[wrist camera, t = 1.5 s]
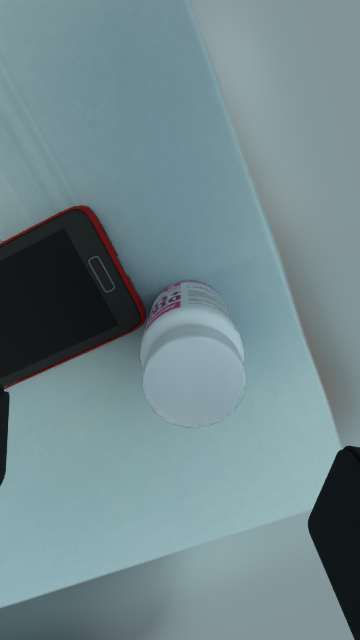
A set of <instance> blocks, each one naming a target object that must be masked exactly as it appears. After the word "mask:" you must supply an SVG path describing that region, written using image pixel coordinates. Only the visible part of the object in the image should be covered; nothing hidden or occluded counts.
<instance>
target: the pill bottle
mask: <svg viewBox="0 0 360 640" xmlns="http://www.w3.org/2000/svg"><path fill="white" fill-rule="evenodd" d="M140 361H141V366H142V369H143V376H142V386H143V392H144V396H145V398H146V400H147V402H148V404H149V406H150V407H151V408H152V410H153V411H154V412H155V413H156V414H157V415H159V416H160V417H161V418H162V419H164V420H166V421H168V422H170V423H172V424H175V425H178V426H182V427H203V426H208V425H212V424H214V423H217V422H219V421H221V420H223V419H224V418H226V417H227V416H228V415H230V414H231V413H232V412H233V411H234V410H235V409H236V407H237V406H238V404H239V403H240V401H241V399H242V397H243V394H244V391H245V386H246V376H245V370H244V367H243V361H244V349H243V344H242V340H241V337H240V335H239V332H238V330H237V328H236V326H235V324H234V322H233V320H232V318H231V316H230V314H229V312H228V309H227V307H226V305H225V303H224V301H223V299H222V297H221V296H220V295H219V294H218V293H217V292H216V291H215V290H214V289H213V288H211V287H210V286H208V285H207V284H205V283H202V282H199V281H194V280H185V281H179V282H176V283H173V284H171V285H169V286H168V287H166V288H165V289H164V290H163V291H162V292H161V293H160V294H159V295H158V296H157V298H156V299H155V301H154V303H153V306H152V309H151V312H150V315H149V318H148V322H147V325H146V328H145V332H144V336H143V339H142V343H141V349H140Z"/></svg>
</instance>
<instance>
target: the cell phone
mask: <svg viewBox="0 0 360 640" xmlns="http://www.w3.org/2000/svg"><path fill="white" fill-rule="evenodd" d="M117 256H118V255H117V253H116V251H115V249H114V247H113V246H112V244H111V242H110V240H109V238H108V236H107V234H106V232H105V230H104V228H103V227H102V225H101V223H100V221H99V219H98V218H97V216H96V215H95V214H94V212H93V211H92V210H91V209H90V208H89V207H87V206H75V207H72V208H69V209H67V210H65V211H62V212H60V213H58V214H56V215H54V216H52V217H50V218H48V219H46V220H45V221H43V222H41V223H39V224H37V225H35V226H33V227H31V228H29V229H27V230H25V231H23V232H22V233H20V234H18V235H16V236H14V237H12V238H10V239H8V240H6V241H4V242H2V243H0V385H2V386H3V387H4V389H6V388H8V387H10V386H13V385H15V384H17V383H19V382H21V381H24V380H26V379H28V378H30V377H33V376H35V375H37V374H39V373H41V372H44V371H46V370H48V369H50V368H53V367H55V366H57V365H59V364H62V363H64V362H66V361H68V360H70V359H73V358H75V357H77V356H79V355H82V354H84V353H86V352H88V351H91V350H93V349H95V348H97V347H99V346H102V345H104V344H106V343H108V342H111V341H113V340H115V339H117V338H119V337H122V336H124V335H126V334H128V333H131V332H132V331H134V330H136V329H138V328H139V327H140V326H142V325H143V324H144V322H145V320H146V311H145V308H144V305H143V303H142V301H141V299H140V297H139V295H138V294H137V292H136V290H135V288H134V286H133V284H132V282H131V280H130V278H129V276H127V275H126V273H125V271H124V269H123V268H122V266H121V264H120V262H119V260H118V258H117ZM18 380H19V381H18ZM16 381H17V382H16ZM14 382H15V383H14ZM12 383H13V384H12ZM9 384H10V385H9ZM7 385H8V386H7ZM5 386H6V387H5Z"/></svg>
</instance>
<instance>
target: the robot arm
mask: <svg viewBox="0 0 360 640" xmlns="http://www.w3.org/2000/svg"><path fill="white" fill-rule="evenodd" d="M8 417H9V393H8V392H5V391H4V388H3V386H2V385H0V486H1V484H2V482H3V479H4V476H5V472H6V456H7V436H8ZM308 529H309V533H310V535H311V538H312V540H313V542H314V545H315V547H316V549H317V552H318V554H319V557H320V559H321V561H322V563H323V566H324V568H325V571H326V573H327V575H328V578H329V580H330V582H331V585H332V587H333V590H334V592H335V594H336V597H337V599H338V601H339V604H340V606H341V608H342V611H343V613H344V616H345V618H346V620H347V623H348V625H349V627H350V630H351V632H352V634H353V637H354V639H355V640H360V448H359V447H354V446H346V447H345V448H344V449H343V450H340V451H339V452H338V453H337V455H336V457H335V460H334V462H333V464H332V467H331V469H330V471H329V473H328V476H327V478H326V480H325V482H324V485H323V487H322V489H321V491H320V494H319V496H318V498H317V501H316V503H315V505H314V507H313V510H312V512H311V514H310V516H309V519H308Z"/></svg>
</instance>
